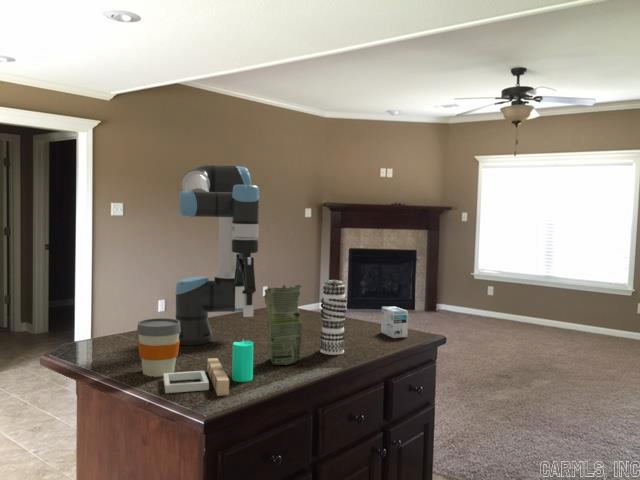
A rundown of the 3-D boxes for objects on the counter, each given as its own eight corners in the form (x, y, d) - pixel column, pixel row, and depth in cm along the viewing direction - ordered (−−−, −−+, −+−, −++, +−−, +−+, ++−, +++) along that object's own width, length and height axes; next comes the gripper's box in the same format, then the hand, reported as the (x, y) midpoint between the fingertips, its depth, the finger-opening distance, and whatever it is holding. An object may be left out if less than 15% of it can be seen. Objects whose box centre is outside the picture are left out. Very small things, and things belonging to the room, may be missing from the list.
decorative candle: (350, 351, 196) (352, 280, 194) (336, 356, 188) (338, 283, 187) (328, 346, 201) (330, 278, 200) (314, 351, 193) (316, 280, 192)
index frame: (163, 380, 158) (163, 373, 158) (204, 377, 162) (204, 370, 162) (165, 393, 147) (165, 385, 147) (208, 389, 151) (209, 382, 151)
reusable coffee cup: (188, 372, 166) (189, 322, 165) (151, 381, 157) (151, 328, 156) (165, 363, 174) (165, 316, 174) (128, 371, 165) (128, 321, 164)
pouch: (261, 365, 176) (263, 286, 174) (270, 355, 187) (271, 281, 186) (296, 367, 174) (298, 288, 173) (302, 357, 186) (304, 283, 184)
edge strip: (207, 371, 167) (207, 358, 167) (217, 371, 168) (217, 358, 168) (217, 395, 146) (217, 380, 146) (228, 394, 147) (229, 380, 147)
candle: (253, 375, 165) (254, 335, 164) (251, 382, 159) (252, 340, 158) (233, 375, 164) (234, 335, 164) (230, 381, 158) (231, 340, 158)
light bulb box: (408, 337, 219) (408, 310, 219) (393, 338, 217) (393, 311, 216) (394, 331, 229) (395, 305, 229) (380, 332, 227) (381, 306, 226)
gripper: (225, 236, 170) (224, 305, 171) (239, 241, 146) (238, 321, 147) (249, 236, 172) (248, 304, 173) (267, 241, 148) (266, 320, 149)
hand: (243, 312), depth 160 cm, fingers open, 13 cm apart
